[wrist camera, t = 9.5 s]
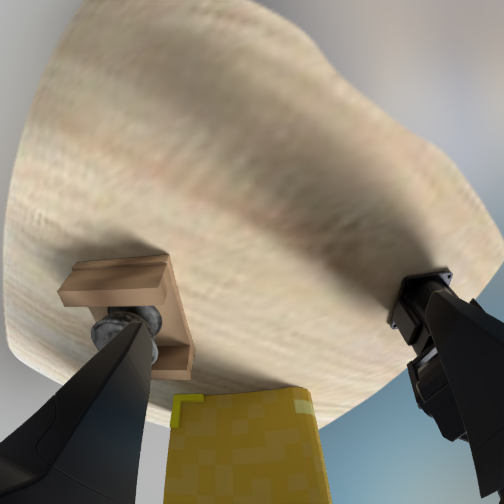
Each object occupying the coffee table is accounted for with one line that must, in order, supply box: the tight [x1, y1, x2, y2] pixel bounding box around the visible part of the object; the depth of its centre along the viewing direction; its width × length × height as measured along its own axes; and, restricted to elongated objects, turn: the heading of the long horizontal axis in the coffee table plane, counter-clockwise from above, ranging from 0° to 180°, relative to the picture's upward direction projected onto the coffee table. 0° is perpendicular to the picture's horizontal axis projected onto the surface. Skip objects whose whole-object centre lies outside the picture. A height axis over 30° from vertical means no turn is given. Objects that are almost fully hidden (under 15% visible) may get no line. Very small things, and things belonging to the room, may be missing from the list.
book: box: [163, 387, 332, 504], centre depth 21 cm, size 17×7×25 cm, turn 98°
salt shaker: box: [91, 305, 162, 364], centre depth 18 cm, size 6×6×12 cm
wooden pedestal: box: [57, 255, 195, 380], centre depth 22 cm, size 9×11×4 cm
